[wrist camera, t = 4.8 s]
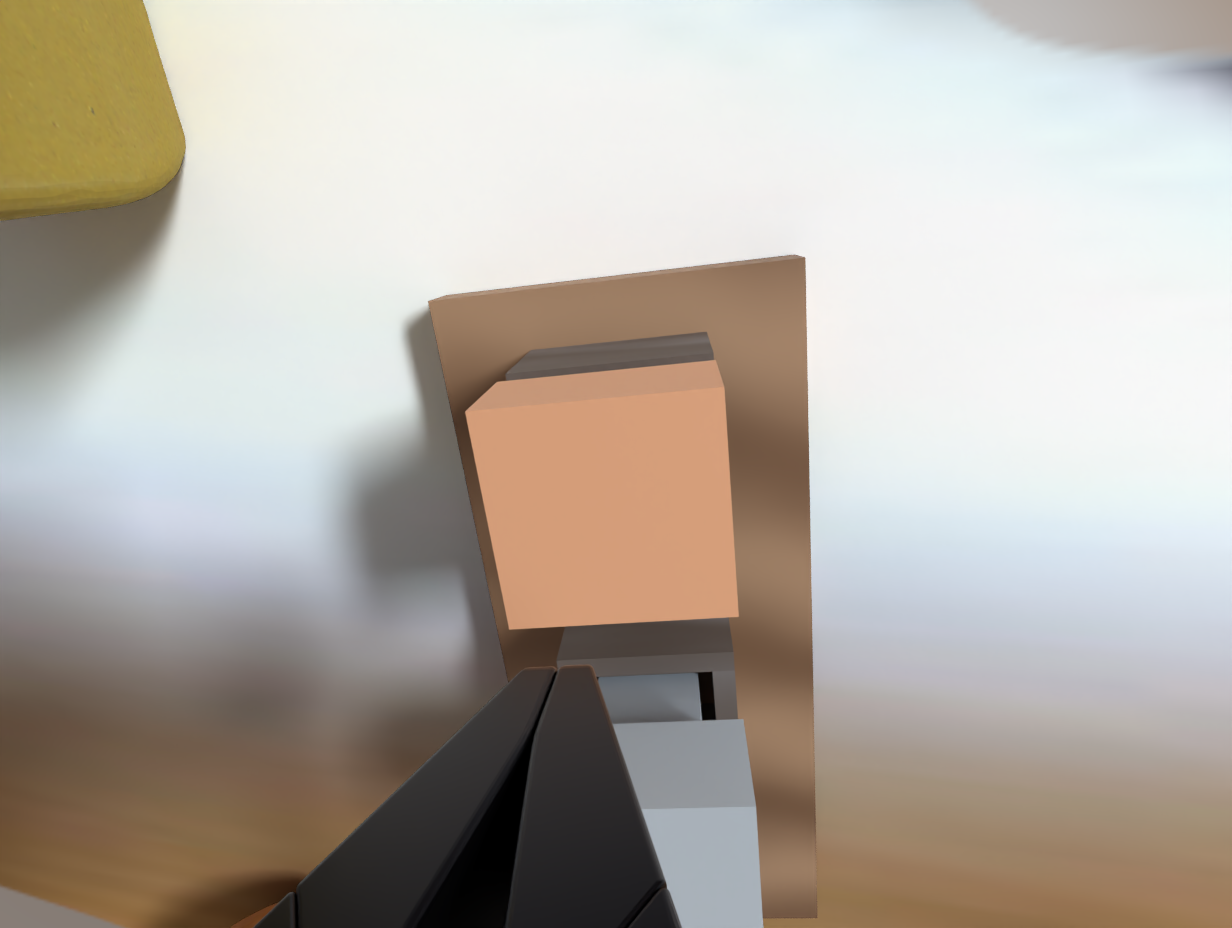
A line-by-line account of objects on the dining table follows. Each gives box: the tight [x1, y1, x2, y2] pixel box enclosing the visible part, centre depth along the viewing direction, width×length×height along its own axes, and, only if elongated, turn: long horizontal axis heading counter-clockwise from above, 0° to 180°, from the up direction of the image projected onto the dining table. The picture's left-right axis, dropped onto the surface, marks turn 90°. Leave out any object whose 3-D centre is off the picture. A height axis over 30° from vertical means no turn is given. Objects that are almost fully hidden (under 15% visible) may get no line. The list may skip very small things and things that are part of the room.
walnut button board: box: [428, 255, 817, 918], centre depth 21 cm, size 24×10×4 cm, turn 7°
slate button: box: [598, 673, 763, 928], centre depth 16 cm, size 5×5×5 cm
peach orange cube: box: [465, 360, 739, 630], centre depth 15 cm, size 5×5×5 cm
